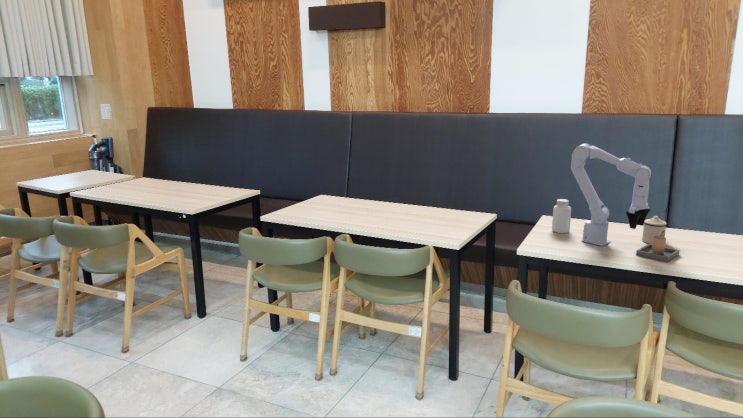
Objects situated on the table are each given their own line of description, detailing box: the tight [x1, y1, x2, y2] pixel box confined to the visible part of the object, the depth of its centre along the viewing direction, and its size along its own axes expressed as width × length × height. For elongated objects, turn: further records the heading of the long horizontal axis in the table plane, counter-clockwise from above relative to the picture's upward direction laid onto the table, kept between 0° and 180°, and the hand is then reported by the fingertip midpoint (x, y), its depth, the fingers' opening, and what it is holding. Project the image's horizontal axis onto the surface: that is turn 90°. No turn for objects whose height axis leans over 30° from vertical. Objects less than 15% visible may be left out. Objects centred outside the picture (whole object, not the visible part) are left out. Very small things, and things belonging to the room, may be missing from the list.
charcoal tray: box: [635, 243, 680, 263], centre depth 224 cm, size 12×13×2 cm
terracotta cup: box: [651, 236, 667, 256], centre depth 223 cm, size 5×5×7 cm
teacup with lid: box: [641, 215, 668, 245], centre depth 241 cm, size 12×9×12 cm
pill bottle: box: [551, 198, 572, 234], centre depth 255 cm, size 8×8×15 cm
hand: (636, 226), depth 231 cm, fingers open, 7 cm apart
